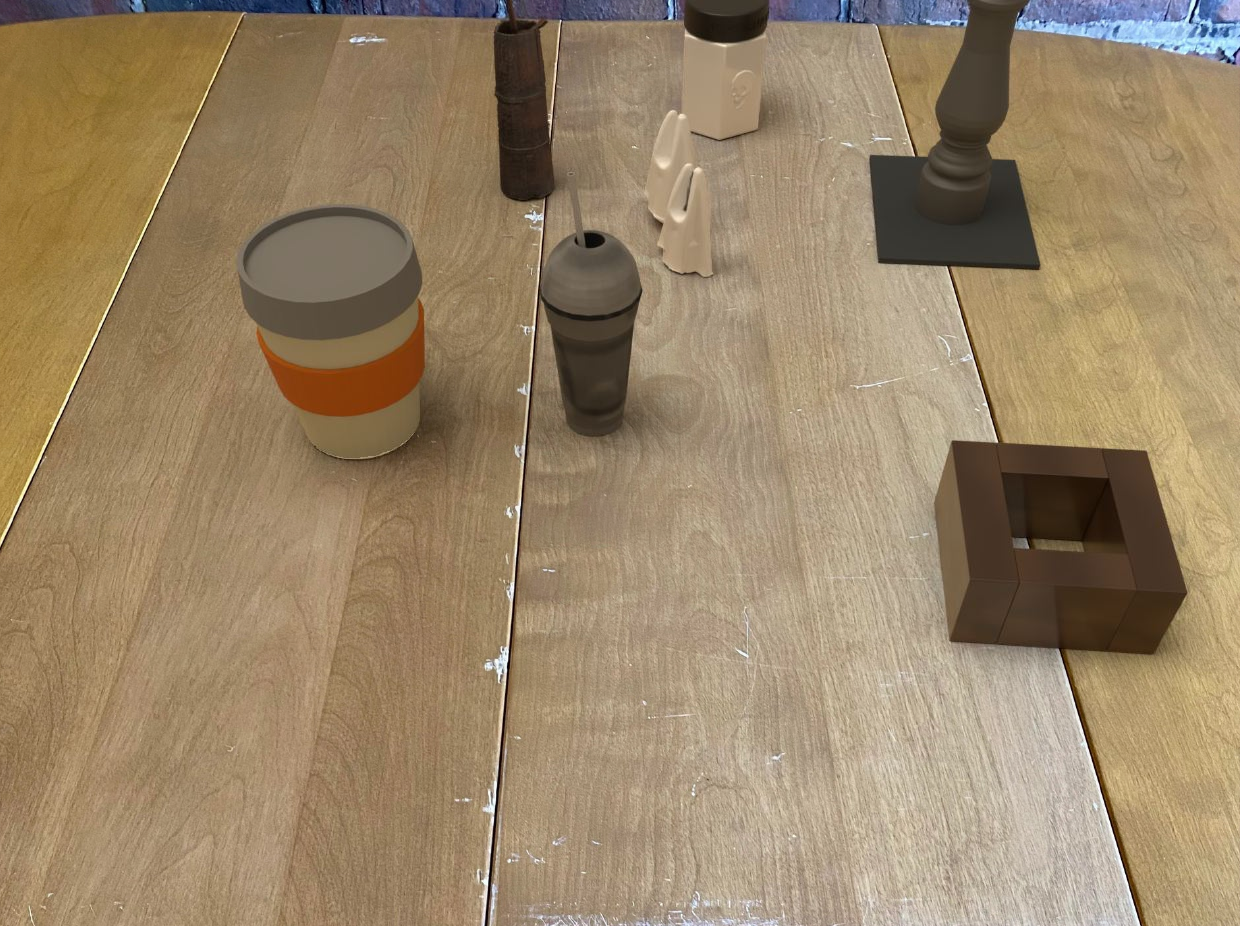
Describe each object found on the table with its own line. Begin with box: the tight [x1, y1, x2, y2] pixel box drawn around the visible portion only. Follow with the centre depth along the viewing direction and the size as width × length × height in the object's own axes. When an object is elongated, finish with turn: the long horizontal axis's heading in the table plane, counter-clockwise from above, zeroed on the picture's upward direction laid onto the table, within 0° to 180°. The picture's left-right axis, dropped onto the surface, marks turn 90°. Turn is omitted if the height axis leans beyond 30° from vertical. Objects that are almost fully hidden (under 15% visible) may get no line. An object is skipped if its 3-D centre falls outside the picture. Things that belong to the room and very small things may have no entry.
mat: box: [868, 154, 1041, 270], centre depth 109 cm, size 14×18×1 cm
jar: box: [680, 0, 771, 141], centre depth 117 cm, size 9×8×12 cm
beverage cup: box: [539, 171, 643, 437], centre depth 84 cm, size 7×7×20 cm
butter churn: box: [493, 0, 556, 201], centre depth 103 cm, size 9×10×28 cm
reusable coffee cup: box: [236, 203, 426, 458], centre depth 86 cm, size 12×13×15 cm
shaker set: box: [642, 109, 714, 278], centre depth 103 cm, size 12×4×11 cm, turn 10°
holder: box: [933, 439, 1188, 655], centre depth 78 cm, size 13×13×6 cm
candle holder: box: [915, 0, 1031, 225], centre depth 99 cm, size 6×6×25 cm
